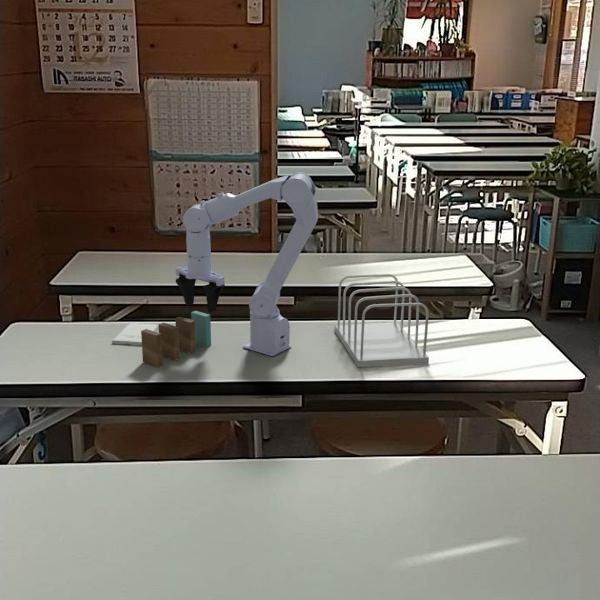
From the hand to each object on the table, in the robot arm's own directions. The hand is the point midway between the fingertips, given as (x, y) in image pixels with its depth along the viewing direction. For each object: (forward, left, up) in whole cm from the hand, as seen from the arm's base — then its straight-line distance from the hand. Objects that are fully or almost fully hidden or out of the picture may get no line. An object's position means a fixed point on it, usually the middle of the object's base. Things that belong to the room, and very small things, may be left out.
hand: (200, 307), depth 183 cm
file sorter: (-36, -26, -10) cm, 46 cm away
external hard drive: (+17, +7, -10) cm, 21 cm away
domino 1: (0, +17, -10) cm, 19 cm away
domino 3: (0, +6, -10) cm, 11 cm away
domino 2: (0, +11, -10) cm, 15 cm away
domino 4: (0, 0, -10) cm, 10 cm away
